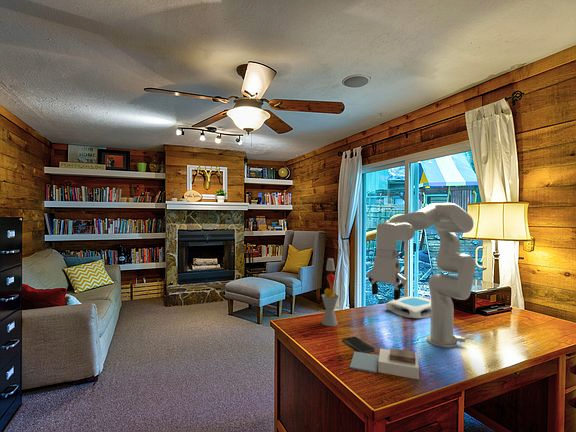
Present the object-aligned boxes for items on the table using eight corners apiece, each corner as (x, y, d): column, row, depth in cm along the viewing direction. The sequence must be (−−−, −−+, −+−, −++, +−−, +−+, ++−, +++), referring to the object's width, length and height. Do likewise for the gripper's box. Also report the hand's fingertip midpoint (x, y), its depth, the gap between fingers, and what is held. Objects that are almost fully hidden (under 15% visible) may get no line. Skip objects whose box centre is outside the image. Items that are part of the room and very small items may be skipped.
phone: (360, 352, 129) (341, 338, 143) (360, 355, 129) (341, 341, 143) (375, 349, 132) (355, 336, 146) (375, 352, 132) (355, 338, 146)
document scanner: (444, 313, 186) (444, 302, 186) (415, 320, 172) (415, 309, 172) (413, 304, 204) (414, 294, 204) (385, 310, 189) (385, 300, 189)
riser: (416, 364, 121) (417, 354, 121) (418, 379, 110) (418, 368, 110) (380, 358, 126) (380, 348, 126) (378, 372, 115) (378, 361, 114)
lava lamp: (332, 319, 171) (333, 257, 171) (341, 325, 163) (342, 259, 163) (318, 321, 168) (319, 257, 168) (326, 327, 160) (327, 260, 159)
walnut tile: (414, 357, 119) (414, 351, 118) (415, 364, 113) (415, 358, 113) (390, 353, 122) (390, 348, 122) (389, 359, 116) (389, 354, 116)
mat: (378, 356, 127) (378, 355, 127) (376, 373, 114) (376, 371, 114) (354, 352, 130) (354, 351, 130) (349, 368, 117) (349, 366, 117)
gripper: (411, 255, 117) (410, 300, 117) (372, 251, 130) (372, 291, 130) (401, 257, 112) (400, 303, 112) (362, 252, 125) (361, 293, 126)
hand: (385, 296), depth 121 cm, fingers open, 9 cm apart
